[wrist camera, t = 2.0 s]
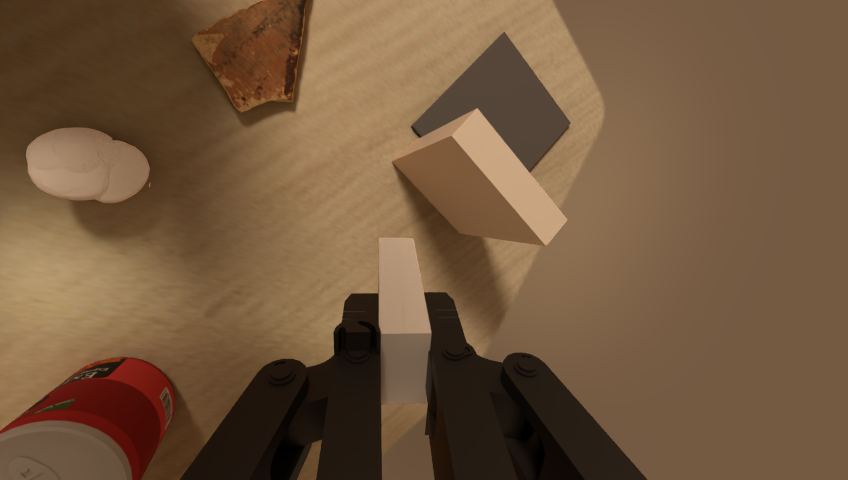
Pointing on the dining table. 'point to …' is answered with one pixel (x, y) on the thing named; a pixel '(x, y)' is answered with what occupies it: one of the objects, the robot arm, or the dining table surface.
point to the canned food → (91, 425)
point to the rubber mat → (502, 103)
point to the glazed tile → (480, 183)
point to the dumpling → (86, 165)
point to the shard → (256, 51)
